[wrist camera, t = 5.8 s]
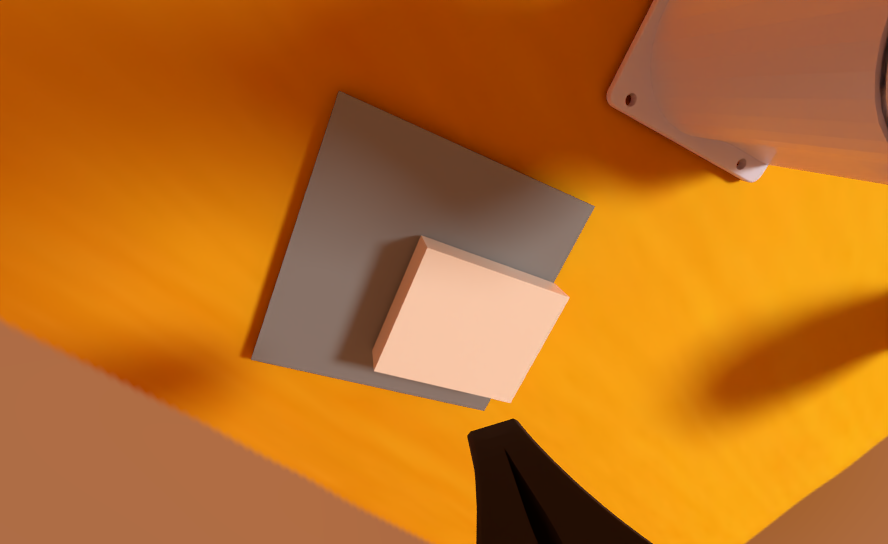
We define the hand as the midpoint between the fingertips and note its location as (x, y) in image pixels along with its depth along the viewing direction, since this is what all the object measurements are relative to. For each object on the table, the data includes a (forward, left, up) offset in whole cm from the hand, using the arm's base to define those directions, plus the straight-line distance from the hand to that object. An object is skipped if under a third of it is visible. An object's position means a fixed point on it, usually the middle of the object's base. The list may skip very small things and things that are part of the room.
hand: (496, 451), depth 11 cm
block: (+2, 0, -8) cm, 8 cm away
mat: (+1, -1, -9) cm, 9 cm away
